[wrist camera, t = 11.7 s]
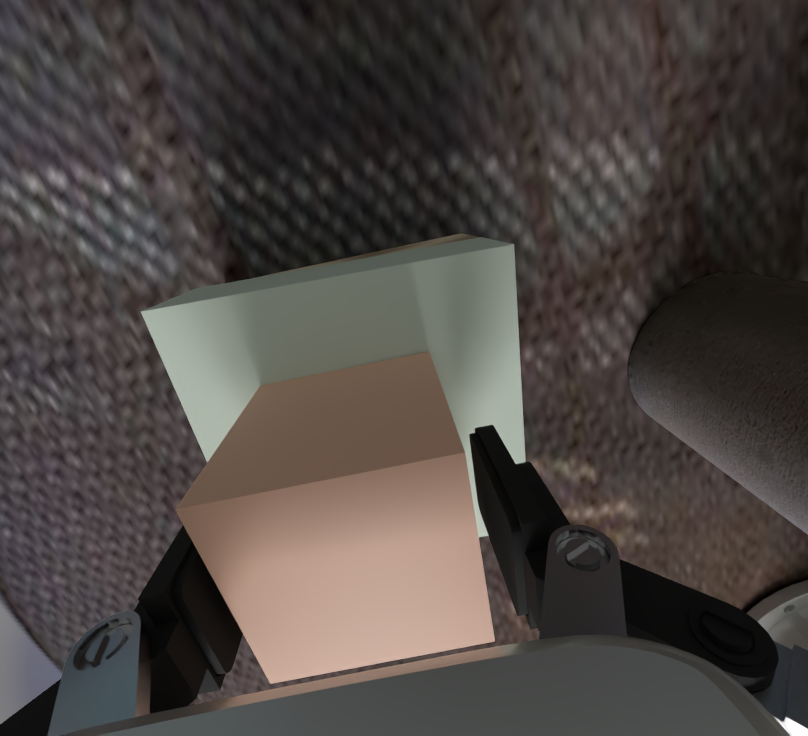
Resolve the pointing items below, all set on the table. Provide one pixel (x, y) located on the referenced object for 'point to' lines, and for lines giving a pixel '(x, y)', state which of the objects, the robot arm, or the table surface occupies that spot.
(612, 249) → the table surface
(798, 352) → the pillar candle
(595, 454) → the table surface
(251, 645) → the terracotta cube
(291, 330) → the sage slab
